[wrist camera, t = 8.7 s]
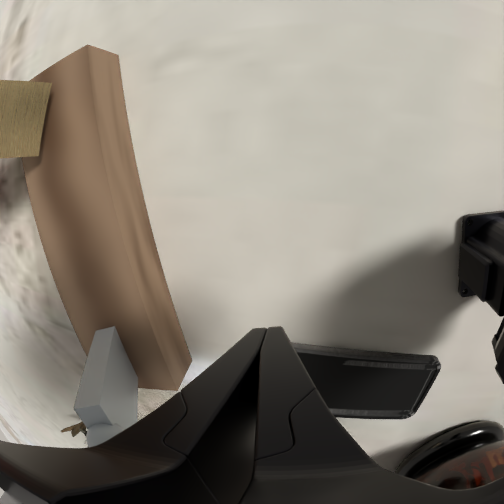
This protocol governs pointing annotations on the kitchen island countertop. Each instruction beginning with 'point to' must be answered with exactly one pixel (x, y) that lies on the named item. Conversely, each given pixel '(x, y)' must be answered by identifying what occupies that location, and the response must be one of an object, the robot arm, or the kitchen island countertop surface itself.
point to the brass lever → (22, 117)
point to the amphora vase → (459, 458)
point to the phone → (369, 380)
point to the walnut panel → (102, 219)
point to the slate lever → (107, 389)
